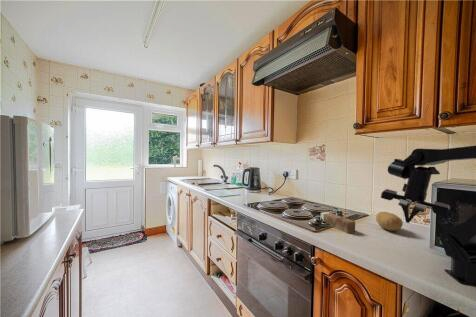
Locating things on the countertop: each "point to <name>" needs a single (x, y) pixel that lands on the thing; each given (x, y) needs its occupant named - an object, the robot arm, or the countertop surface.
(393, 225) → the potato
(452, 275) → the robot arm
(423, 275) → the countertop surface
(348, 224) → the walnut block
